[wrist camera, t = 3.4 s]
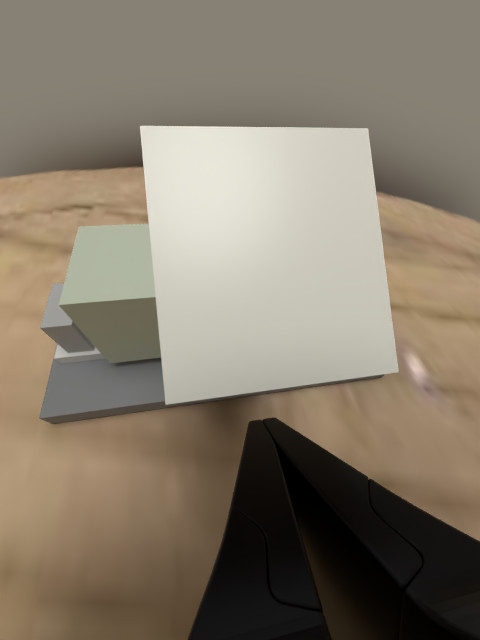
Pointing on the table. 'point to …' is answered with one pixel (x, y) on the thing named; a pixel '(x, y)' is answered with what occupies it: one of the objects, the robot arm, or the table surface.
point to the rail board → (118, 390)
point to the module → (265, 258)
